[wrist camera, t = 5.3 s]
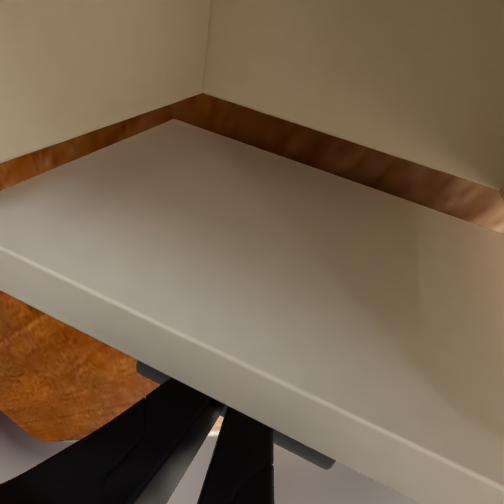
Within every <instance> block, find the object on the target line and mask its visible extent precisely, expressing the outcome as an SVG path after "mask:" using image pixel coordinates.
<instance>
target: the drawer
mask: <svg viewBox="0 0 504 504" xmlns="http://www.w3.org/2000/svg"><path fill="white" fill-rule="evenodd" d="M201 93H204V94H207V95H210V96H213V97H216V98H219V99H222V100H225V101H228V102H231V103H235V104H238V105H241V106H244V107H247V108H250V109H253V110H256V111H259V112H262V113H265V114H268V115H271V116H274V117H277V118H280V119H283V120H286V121H289V122H292V123H295V124H298V125H301V126H304V127H308V128H311V129H314V130H317V131H320V132H323V133H326V134H329V135H332V136H335V137H338V138H341V139H344V140H347V141H350V142H353V143H356V144H359V145H362V146H365V147H368V148H371V149H374V150H377V151H380V152H384V153H387V154H390V155H393V156H396V157H399V158H402V159H405V160H408V161H411V162H414V163H417V164H420V165H423V166H426V167H429V168H432V169H435V170H438V171H441V172H444V173H447V174H450V175H453V176H456V177H460V178H463V179H466V180H469V181H472V182H475V183H478V184H481V185H484V186H487V187H490V188H493V189H496V190H499V192H500V194H501V196H502V198H503V200H504V0H0V163H3V162H6V161H9V160H12V159H14V158H17V157H20V156H23V155H26V154H29V153H32V152H35V151H37V150H40V149H43V148H46V147H49V146H52V145H55V144H58V143H60V142H63V141H66V140H69V139H72V138H75V137H78V136H81V135H84V134H86V133H89V132H92V131H95V130H98V129H101V128H104V127H107V126H109V125H112V124H115V123H118V122H121V121H124V120H127V119H130V118H132V117H135V116H138V115H141V114H144V113H147V112H150V111H153V110H155V109H158V108H161V107H164V106H167V105H170V104H173V103H176V102H179V101H181V100H184V99H187V98H190V97H193V96H196V95H199V94H201ZM0 290H1V291H3V292H5V293H7V294H9V295H11V296H13V297H15V298H17V299H19V300H21V301H23V302H25V303H26V304H28V305H30V306H32V307H34V308H36V309H38V310H40V311H42V312H44V313H46V314H48V315H50V316H52V317H54V318H56V319H58V320H60V321H62V322H64V323H66V324H68V325H70V326H72V327H74V328H76V329H78V330H80V331H82V332H84V333H86V334H88V335H90V336H92V337H94V338H95V339H97V340H99V341H101V342H103V343H105V344H107V345H109V346H111V347H113V348H115V349H117V350H119V351H121V352H123V353H125V354H127V355H129V356H131V357H133V358H135V359H137V364H136V370H137V372H138V373H139V374H141V375H143V376H145V377H147V378H149V379H151V380H152V381H154V382H156V383H158V384H160V385H161V384H163V383H164V382H166V381H167V380H168V379H170V378H171V377H172V378H174V379H176V380H178V381H180V382H182V383H184V384H186V385H188V386H190V387H192V388H194V389H196V390H198V391H200V392H202V393H204V394H206V395H208V396H210V397H212V398H214V399H216V400H218V401H220V402H222V403H224V404H226V405H225V407H224V409H223V410H222V412H221V414H220V416H222V417H224V416H225V413H226V410H227V407H228V406H230V407H232V408H233V409H235V410H237V411H239V412H241V413H243V414H245V415H247V416H249V417H251V418H253V419H255V420H257V421H259V422H261V423H263V424H265V425H267V426H269V427H271V428H273V443H275V444H277V445H279V446H281V447H283V448H284V449H286V450H288V451H290V452H292V453H294V454H296V455H298V456H300V457H302V458H304V459H306V460H308V461H310V462H312V463H314V464H316V465H317V466H319V467H321V468H323V469H330V468H331V467H332V466H333V464H334V463H335V461H338V462H340V463H342V464H344V465H346V466H348V467H350V468H352V469H354V470H356V471H358V472H360V473H362V474H364V475H366V476H368V477H370V478H371V479H373V480H376V481H378V482H379V483H381V484H383V485H385V486H387V487H389V488H391V489H393V490H395V491H397V492H399V493H401V494H403V495H405V496H407V497H409V498H411V499H413V500H415V501H417V502H419V503H421V504H504V234H502V233H499V232H496V231H494V230H491V229H488V228H485V227H482V226H479V225H476V224H474V223H471V222H468V221H465V220H462V219H459V218H456V217H454V216H451V215H448V214H445V213H442V212H439V211H436V210H434V209H431V208H428V207H425V206H422V205H419V204H416V203H414V202H411V201H408V200H405V199H402V198H399V197H396V196H394V195H391V194H388V193H385V192H382V191H379V190H376V189H374V188H371V187H368V186H365V185H362V184H359V183H356V182H354V181H351V180H348V179H345V178H342V177H339V176H336V175H334V174H331V173H328V172H325V171H322V170H319V169H316V168H314V167H311V166H308V165H305V164H302V163H299V162H296V161H294V160H291V159H288V158H285V157H282V156H279V155H276V154H274V153H271V152H268V151H265V150H262V149H259V148H256V147H254V146H251V145H248V144H245V143H242V142H239V141H236V140H234V139H231V138H228V137H225V136H222V135H219V134H216V133H214V132H211V131H208V130H205V129H202V128H199V127H196V126H194V125H191V124H188V123H185V122H182V121H179V120H177V119H172V120H170V121H167V122H165V123H163V124H160V125H158V126H155V127H153V128H151V129H148V130H146V131H143V132H141V133H138V134H136V135H134V136H131V137H129V138H126V139H124V140H122V141H119V142H117V143H114V144H112V145H109V146H107V147H105V148H102V149H100V150H97V151H95V152H93V153H90V154H88V155H85V156H83V157H80V158H78V159H76V160H73V161H71V162H68V163H66V164H64V165H61V166H59V167H56V168H54V169H51V170H49V171H47V172H44V173H42V174H39V175H37V176H35V177H32V178H30V179H27V180H25V181H22V182H20V183H18V184H15V185H13V186H10V187H8V188H6V189H3V190H1V191H0Z"/></svg>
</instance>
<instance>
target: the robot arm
mask: <svg viewBox="0 0 504 504" xmlns="http://www.w3.org/2000/svg"><path fill="white" fill-rule="evenodd" d="M225 405H226V404H224V403H222V402H220V401H218V400H216V399H214V398H212V397H210V396H208V395H206V394H204V393H202V392H200V391H198V390H196V389H194V388H192V387H190V386H188V385H186V384H184V383H182V382H180V381H178V380H176V379H174V378H172V377H171V378H170V379H168V380H167V381H166V382H164V383H163V384H161V385H160V386H159V387H157V388H156V389H155V390H153V391H152V392H151V393H149V394H148V395H147V396H146V399H145V398H142V399H141V400H140V401H138V402H137V403H136V404H134V405H133V406H131V407H130V408H129V409H127V410H126V411H124V412H123V413H122V414H120V415H119V416H117V417H116V418H114V419H113V420H111V421H110V422H108V423H107V424H105V425H104V426H102V427H100V428H99V429H97V430H96V431H94V432H92V433H91V434H89V435H87V436H86V437H84V438H82V439H81V440H79V441H77V442H76V443H74V444H72V445H70V446H69V447H67V448H65V449H64V450H62V451H60V452H59V453H57V454H55V455H54V456H52V457H50V458H48V459H47V460H45V461H43V462H42V463H40V464H38V465H37V466H35V467H33V468H31V469H30V470H28V471H26V472H24V473H22V474H20V475H19V476H17V477H15V478H13V479H11V480H8V481H6V482H4V483H2V484H0V504H166V503H167V502H168V500H169V498H170V496H171V495H172V493H173V492H174V490H175V488H176V487H177V485H178V483H179V482H180V480H181V478H182V477H183V475H184V473H185V471H186V470H187V468H188V467H189V465H190V463H191V462H192V460H193V458H194V457H195V455H196V454H197V452H198V450H199V449H200V447H201V445H202V444H203V442H204V440H205V439H206V437H207V435H208V434H209V432H210V430H211V429H212V427H213V425H214V424H215V422H216V420H217V419H218V417H219V415H220V414H221V412H222V410H223V409H224V407H225ZM272 464H273V428H271V427H269V426H267V425H265V424H263V423H261V422H259V421H257V420H255V419H253V418H251V417H249V416H247V415H245V414H243V413H241V412H239V411H237V410H235V409H233V408H232V407H230V406H228V407H227V410H226V413H225V416H224V419H223V422H222V426H221V429H220V432H219V435H218V438H217V442H216V445H215V448H214V451H213V454H212V458H211V461H210V464H209V467H208V470H207V474H206V477H205V480H204V483H203V486H202V490H201V493H200V496H199V499H198V502H197V504H274V467H273V465H272Z"/></svg>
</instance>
